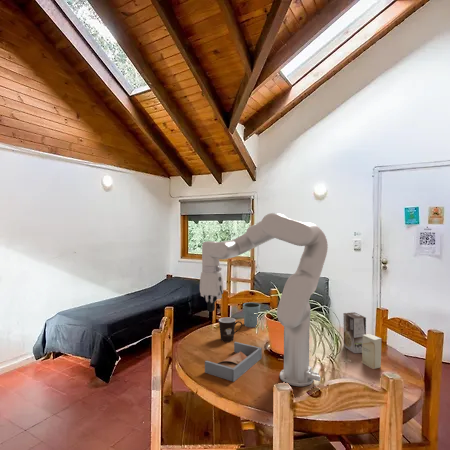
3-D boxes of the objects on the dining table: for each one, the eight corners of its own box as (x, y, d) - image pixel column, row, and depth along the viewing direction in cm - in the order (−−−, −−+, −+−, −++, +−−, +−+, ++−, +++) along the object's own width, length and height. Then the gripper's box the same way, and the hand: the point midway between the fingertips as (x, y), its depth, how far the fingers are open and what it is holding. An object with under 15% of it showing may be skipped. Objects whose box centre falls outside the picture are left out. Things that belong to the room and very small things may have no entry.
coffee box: (366, 352, 141) (366, 317, 141) (353, 353, 140) (353, 318, 140) (355, 344, 150) (355, 311, 150) (343, 345, 149) (343, 312, 149)
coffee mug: (217, 341, 155) (216, 322, 155) (220, 335, 163) (220, 316, 163) (239, 343, 152) (239, 323, 152) (242, 337, 161) (242, 318, 160)
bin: (261, 358, 136) (261, 347, 136) (233, 381, 116) (233, 369, 116) (235, 351, 143) (235, 341, 143) (204, 372, 123) (204, 361, 123)
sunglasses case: (230, 378, 118) (223, 361, 120) (218, 382, 122) (211, 365, 124) (255, 361, 132) (249, 346, 134) (244, 366, 136) (237, 351, 138)
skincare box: (361, 363, 131) (361, 334, 131) (369, 361, 133) (369, 333, 133) (374, 369, 125) (374, 339, 125) (381, 367, 127) (381, 338, 127)
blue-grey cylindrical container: (253, 321, 187) (253, 301, 187) (264, 326, 179) (264, 305, 178) (239, 324, 182) (239, 303, 182) (249, 329, 173) (249, 307, 173)
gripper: (229, 269, 135) (230, 311, 135) (202, 267, 143) (202, 306, 143) (220, 271, 129) (220, 315, 129) (192, 269, 137) (192, 310, 137)
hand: (211, 310), depth 136 cm, fingers closed
